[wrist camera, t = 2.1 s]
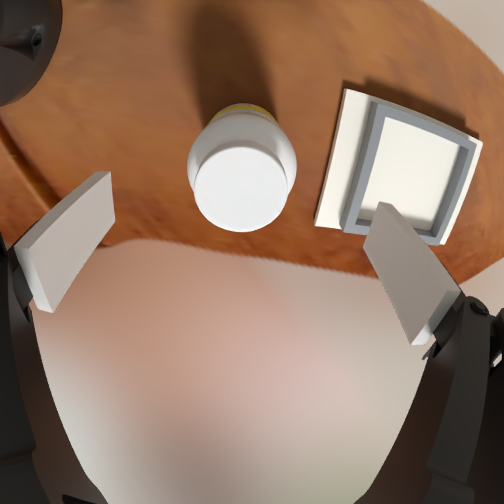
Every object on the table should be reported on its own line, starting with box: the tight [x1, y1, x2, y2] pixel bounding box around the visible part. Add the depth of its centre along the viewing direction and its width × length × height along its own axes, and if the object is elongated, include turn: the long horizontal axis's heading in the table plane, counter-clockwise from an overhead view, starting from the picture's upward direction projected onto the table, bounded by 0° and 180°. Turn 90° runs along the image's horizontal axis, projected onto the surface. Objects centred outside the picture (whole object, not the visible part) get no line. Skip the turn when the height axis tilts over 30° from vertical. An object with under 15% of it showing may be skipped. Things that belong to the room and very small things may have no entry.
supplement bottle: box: [187, 103, 297, 232], centre depth 19 cm, size 7×7×13 cm
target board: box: [314, 88, 483, 246], centre depth 25 cm, size 18×14×2 cm
